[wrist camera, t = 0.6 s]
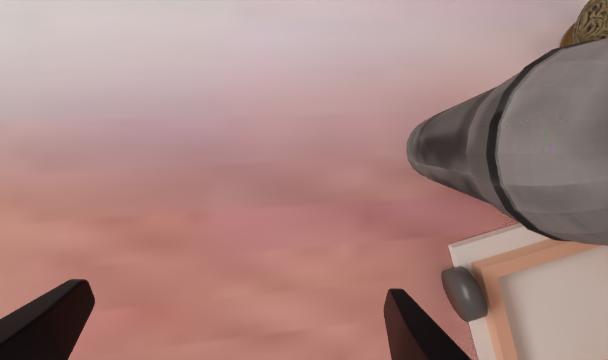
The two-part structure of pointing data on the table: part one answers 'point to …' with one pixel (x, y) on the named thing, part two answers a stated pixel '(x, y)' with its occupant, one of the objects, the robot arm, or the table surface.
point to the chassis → (530, 295)
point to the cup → (588, 24)
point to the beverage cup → (531, 145)
